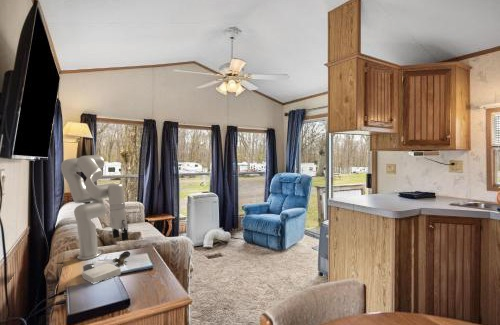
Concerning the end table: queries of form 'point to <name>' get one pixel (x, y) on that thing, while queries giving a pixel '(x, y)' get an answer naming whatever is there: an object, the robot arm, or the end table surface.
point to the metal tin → (88, 267)
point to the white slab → (101, 273)
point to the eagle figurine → (122, 258)
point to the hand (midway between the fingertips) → (120, 238)
